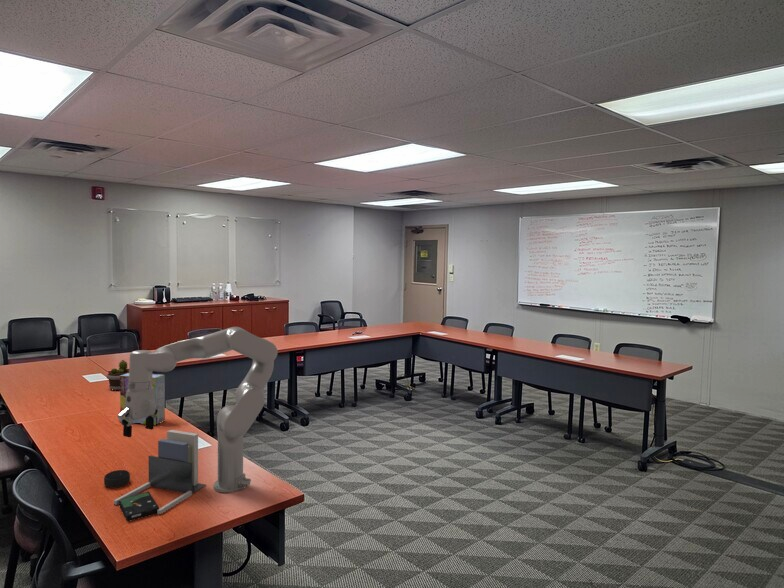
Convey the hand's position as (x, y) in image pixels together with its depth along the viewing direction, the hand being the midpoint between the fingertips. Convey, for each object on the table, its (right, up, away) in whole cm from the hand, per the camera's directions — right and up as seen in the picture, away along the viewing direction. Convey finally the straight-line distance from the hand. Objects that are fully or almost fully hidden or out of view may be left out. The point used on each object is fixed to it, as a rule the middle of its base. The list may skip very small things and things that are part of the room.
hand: (138, 432), depth 181 cm
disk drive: (+1, -27, -2) cm, 27 cm away
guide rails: (+3, -26, +5) cm, 27 cm away
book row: (+7, -25, +16) cm, 31 cm away
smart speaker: (-17, -25, +17) cm, 35 cm away
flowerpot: (-90, -14, +155) cm, 180 cm away
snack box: (-43, -19, +91) cm, 102 cm away
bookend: (+7, -25, +16) cm, 31 cm away
